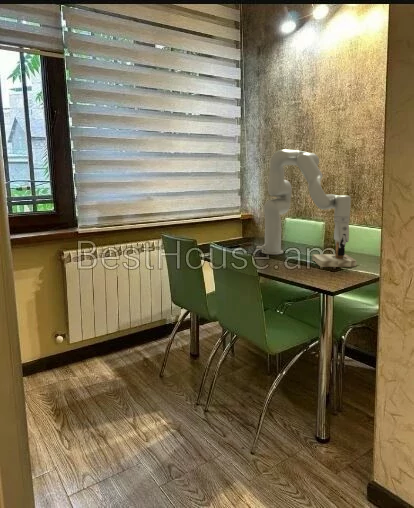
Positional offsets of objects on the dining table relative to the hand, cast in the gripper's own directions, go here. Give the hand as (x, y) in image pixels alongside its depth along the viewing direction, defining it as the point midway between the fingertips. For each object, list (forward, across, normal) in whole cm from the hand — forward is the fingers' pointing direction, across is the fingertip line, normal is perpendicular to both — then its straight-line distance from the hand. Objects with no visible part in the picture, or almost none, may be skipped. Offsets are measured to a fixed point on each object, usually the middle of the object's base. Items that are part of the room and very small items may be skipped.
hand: (339, 254), depth 213 cm
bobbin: (+3, 0, 0) cm, 3 cm away
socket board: (+5, 0, +3) cm, 6 cm away
